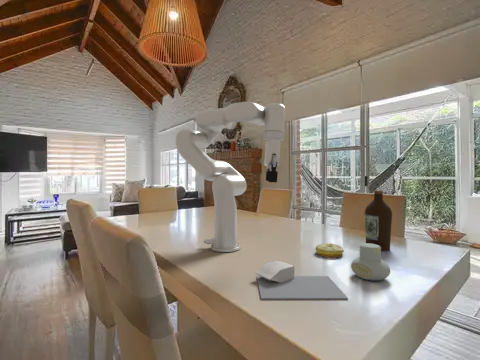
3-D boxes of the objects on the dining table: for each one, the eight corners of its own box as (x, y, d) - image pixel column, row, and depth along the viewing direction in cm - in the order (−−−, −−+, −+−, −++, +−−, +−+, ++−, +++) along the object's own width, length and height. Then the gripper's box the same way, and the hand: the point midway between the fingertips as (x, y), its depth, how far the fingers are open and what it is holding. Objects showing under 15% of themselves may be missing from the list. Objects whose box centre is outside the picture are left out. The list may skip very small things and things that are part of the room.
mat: (261, 299, 69) (261, 298, 69) (256, 277, 84) (256, 276, 84) (347, 299, 69) (347, 297, 69) (328, 277, 84) (328, 276, 84)
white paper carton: (278, 260, 88) (254, 266, 82) (294, 265, 82) (270, 272, 76) (278, 271, 88) (254, 278, 82) (294, 278, 82) (270, 286, 76)
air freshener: (346, 274, 87) (346, 243, 87) (363, 270, 91) (363, 240, 91) (378, 286, 77) (378, 251, 77) (395, 281, 81) (395, 247, 81)
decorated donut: (347, 254, 109) (348, 245, 109) (336, 260, 102) (336, 250, 102) (323, 249, 117) (323, 240, 117) (311, 254, 109) (311, 245, 109)
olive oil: (376, 244, 125) (376, 189, 125) (397, 250, 116) (398, 191, 115) (358, 246, 121) (359, 190, 121) (379, 252, 111) (380, 191, 111)
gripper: (261, 138, 113) (259, 180, 114) (265, 133, 96) (263, 182, 96) (280, 139, 113) (277, 180, 114) (287, 134, 96) (284, 183, 96)
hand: (271, 181), depth 105 cm, fingers open, 9 cm apart
